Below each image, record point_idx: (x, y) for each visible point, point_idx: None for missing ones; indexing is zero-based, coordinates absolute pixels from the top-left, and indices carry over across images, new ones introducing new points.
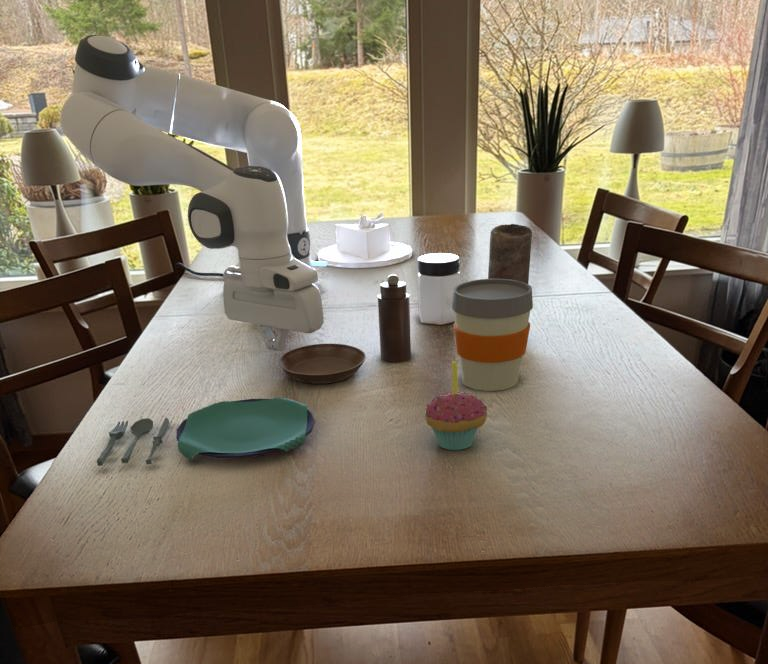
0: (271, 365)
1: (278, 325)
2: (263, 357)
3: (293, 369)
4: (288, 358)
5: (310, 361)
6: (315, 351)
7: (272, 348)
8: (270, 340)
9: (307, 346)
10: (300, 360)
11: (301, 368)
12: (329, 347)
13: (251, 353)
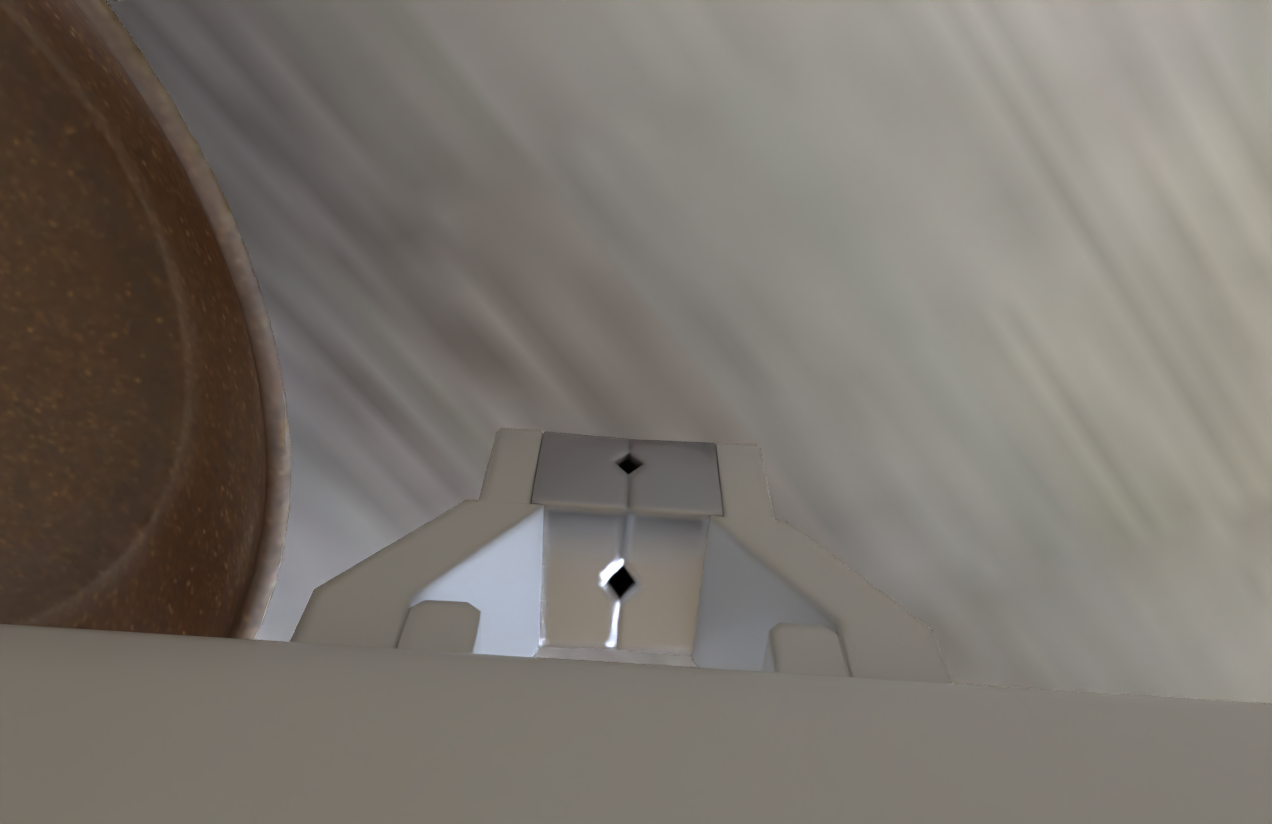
0: (608, 242)
1: (176, 673)
2: (897, 441)
3: (98, 147)
4: (230, 290)
5: (132, 474)
6: None
7: (641, 445)
8: (685, 535)
9: None
10: (212, 419)
11: (28, 225)
12: None
13: (1135, 496)
